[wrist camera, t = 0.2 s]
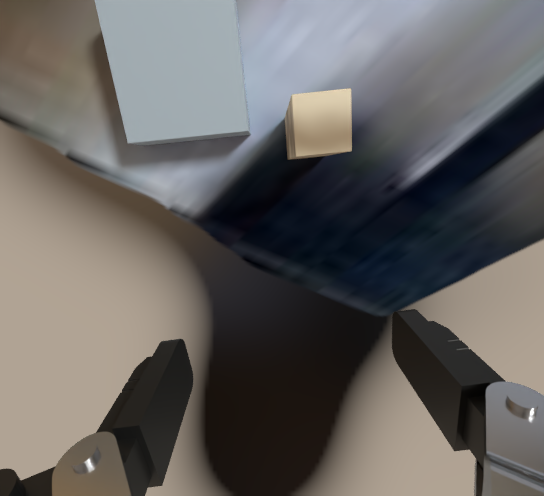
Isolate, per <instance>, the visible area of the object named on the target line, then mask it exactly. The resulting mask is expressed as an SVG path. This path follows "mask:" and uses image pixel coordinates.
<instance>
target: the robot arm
mask: <svg viewBox="0 0 544 496" xmlns="http://www.w3.org/2000/svg"><path fill="white" fill-rule="evenodd" d="M392 350H393V354H394V358H395V360H396V362H397V364H398V366H399V367H400V369H401V370H402V372H403V373H404V375H405V376H406V378H407V379H408V381H409V382H410V384H411V385H412V387H413V389H414V390H415V391H416V393H417V395H418V396H419V398H420V399H421V401H422V402H423V404H424V405H425V407H426V408H427V410H428V412H429V413H430V415H431V416H432V418H433V419H434V421H435V422H436V424H437V425H438V427H439V428H440V430H441V431H442V433H443V434H444V436H445V438H446V439H447V441H448V442H449V444H450V445H451V447H452V448H453V450H454V451H460V450H468V449H470V451H471V452H472V453H473V455H474V456H475V458H476V461H475V462H476V463H475V482H474V485H475V486H474V496H544V396H543V395H542V394H540V393H538V392H537V391H535V390H533V389H531V388H528V387H526V386H523V385H520V384H516V383H512V382H506V381H505V380H504V379H503V378H501V377H500V376H499V375H498V374H497V373H496V372H495V371H494V370H493V369H492V368H491V367H489V366H488V365H487V364H486V363H485V362H484V361H483V360H482V359H481V358H480V357H478V356H477V355H476V354H475V353H474V352H473V351H472V350H471V349H468V346H467V345H466V344H464V343H463V342H462V341H460V340H459V338H458V337H457V336H456V335H455V334H454V333H452V332H451V331H450V330H449V329H448V328H446V327H444V326H442V325H440V324H438V323H436V322H434V321H429V322H428V321H427V320H426V319H425V318H424V317H423V316H422V315H421V314H420V313H419V312H418V311H417V310H415V309H413V310H405V311H397V312H394V313H393V315H392ZM192 387H193V371H192V367H191V364H190V360H189V357H188V353H187V349H186V346H185V342H184V341H183V339H176V340H169V341H162V342H161V343H160V344H159V346H158V347H157V349H156V351H155V353H154V354H153V356H152V357H147V358H146V359H145V360H144V361H143V362H142V363H140V364H139V365H138V366H137V367H136V369H135V370H134V371H133V373H132V375H131V377H130V378H129V380H128V382H127V383H126V384H125V386H124V388H123V389H122V393H120V394H119V396H118V398H117V399H116V401H115V403H114V404H113V406H112V408H111V409H110V411H109V412H108V414H107V416H106V417H105V419H104V420H103V422H102V424H101V425H100V427H99V429H98V430H97V432H96V433H94V434H92V435H89V436H87V437H85V438H83V439H82V440H80V441H79V442H77V443H76V444H75V445H74V446H72V447H71V448H70V449H69V450H68V451H67V452H66V453H65V454H64V455H63V456H62V458H61V459H60V460H59V462H58V463H57V465H56V466H55V467H53V468H51V469H48V470H46V471H43V472H41V473H38V474H36V475H34V476H31V477H29V478H27V479H24V480H20V479H19V477H18V476H17V474H16V472H15V471H14V470H12V469H1V470H0V496H145V494H146V491H147V488H148V487H155V486H162V484H163V481H164V478H165V474H166V472H167V468H168V465H169V462H170V458H171V455H172V452H173V449H174V446H175V442H176V439H177V436H178V433H179V429H180V426H181V423H182V420H183V416H184V413H185V410H186V407H187V404H188V400H189V397H190V394H191V391H192Z"/></svg>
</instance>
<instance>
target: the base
mask: <svg viewBox="0 0 544 496" xmlns="http://www.w3.org/2000/svg"><path fill="white" fill-rule="evenodd" d="M95 4H96V8H97V12H98V17H99V21H100V25H101V30H102V34H103V38H104V43H105V47H106V51H107V56H108V60H109V64H110V68H111V73H112V77H113V81H114V86H115V90H116V94H117V99H118V103H119V107H120V112H121V116H122V120H123V125H124V129H125V133H126V137H127V142H128V143H129V144H135V145H142V146H146V145H156V144H165V143H175V142H185V141H195V140H204V139H214V138H224V137H233V136H243V135H251V133H250V124H249V115H248V106H247V97H246V88H245V78H244V69H243V60H242V51H241V42H240V33H239V24H238V15H237V6H236V0H95Z"/></svg>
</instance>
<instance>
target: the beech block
mask: <svg viewBox="0 0 544 496" xmlns="http://www.w3.org/2000/svg"><path fill="white" fill-rule="evenodd" d="M285 130H286V143H287V156H288V160H290V159H300V158H310V157H320V156H328V155H333V154H338V153H344V152H349V151H352V125H351V88H349V89H340V90H331V91H321V92H312V93H302V94H293V95H292V96H291V99H290V102H289V106H288V109H287V112H286V116H285Z"/></svg>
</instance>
